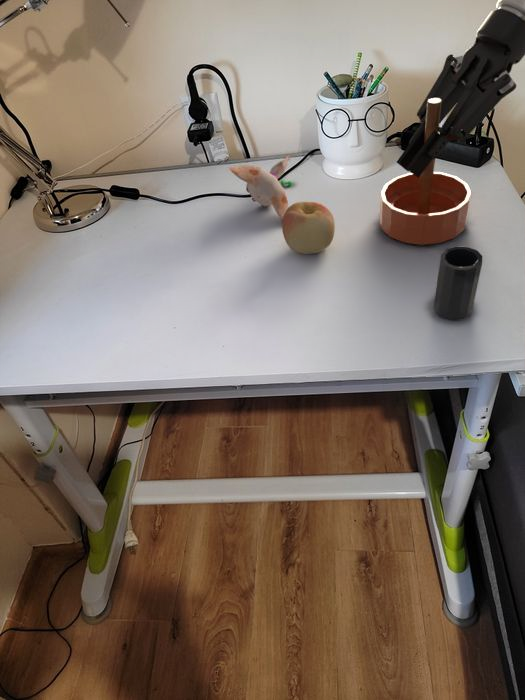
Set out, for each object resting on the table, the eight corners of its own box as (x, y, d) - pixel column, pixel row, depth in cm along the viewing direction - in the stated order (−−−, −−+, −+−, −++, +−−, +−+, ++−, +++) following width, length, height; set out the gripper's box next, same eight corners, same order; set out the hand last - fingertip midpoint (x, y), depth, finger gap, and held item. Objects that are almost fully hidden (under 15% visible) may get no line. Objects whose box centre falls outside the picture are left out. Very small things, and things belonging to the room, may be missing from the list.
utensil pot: (478, 306, 73) (490, 254, 67) (458, 325, 71) (468, 274, 64) (446, 292, 76) (454, 241, 70) (426, 310, 74) (432, 260, 67)
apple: (281, 239, 92) (276, 199, 86) (330, 230, 91) (328, 190, 86) (288, 267, 85) (283, 226, 80) (340, 258, 85) (339, 216, 80)
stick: (430, 218, 88) (444, 99, 74) (424, 223, 88) (436, 104, 73) (421, 215, 90) (432, 96, 75) (414, 220, 89) (424, 101, 75)
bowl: (482, 217, 88) (488, 185, 84) (434, 257, 82) (438, 225, 78) (411, 194, 96) (413, 164, 92) (363, 229, 90) (363, 199, 86)
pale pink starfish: (239, 154, 104) (212, 186, 94) (262, 127, 99) (235, 158, 89) (292, 205, 108) (270, 241, 98) (316, 181, 103) (296, 217, 93)
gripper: (567, 50, 69) (449, 199, 78) (490, 29, 79) (393, 163, 88) (546, 15, 64) (423, 178, 73) (467, -3, 74) (367, 142, 83)
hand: (407, 169), depth 80 cm, fingers closed on stick, 2 cm apart
